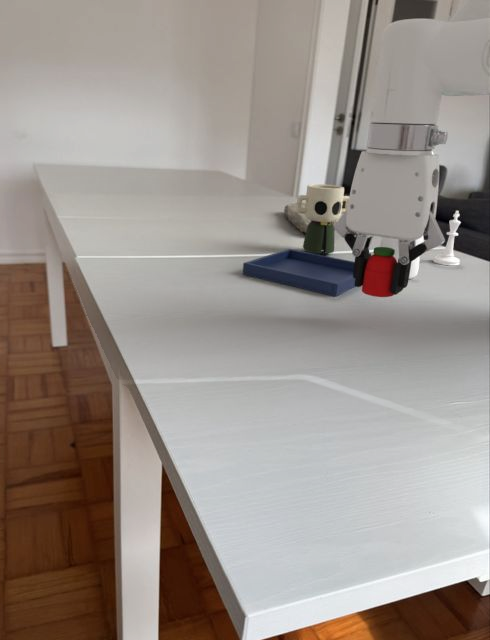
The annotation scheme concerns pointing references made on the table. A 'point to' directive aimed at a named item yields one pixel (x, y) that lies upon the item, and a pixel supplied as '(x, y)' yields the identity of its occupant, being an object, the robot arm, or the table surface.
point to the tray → (304, 271)
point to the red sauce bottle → (379, 272)
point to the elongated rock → (298, 217)
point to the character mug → (321, 215)
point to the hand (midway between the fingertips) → (378, 286)
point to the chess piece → (450, 245)
